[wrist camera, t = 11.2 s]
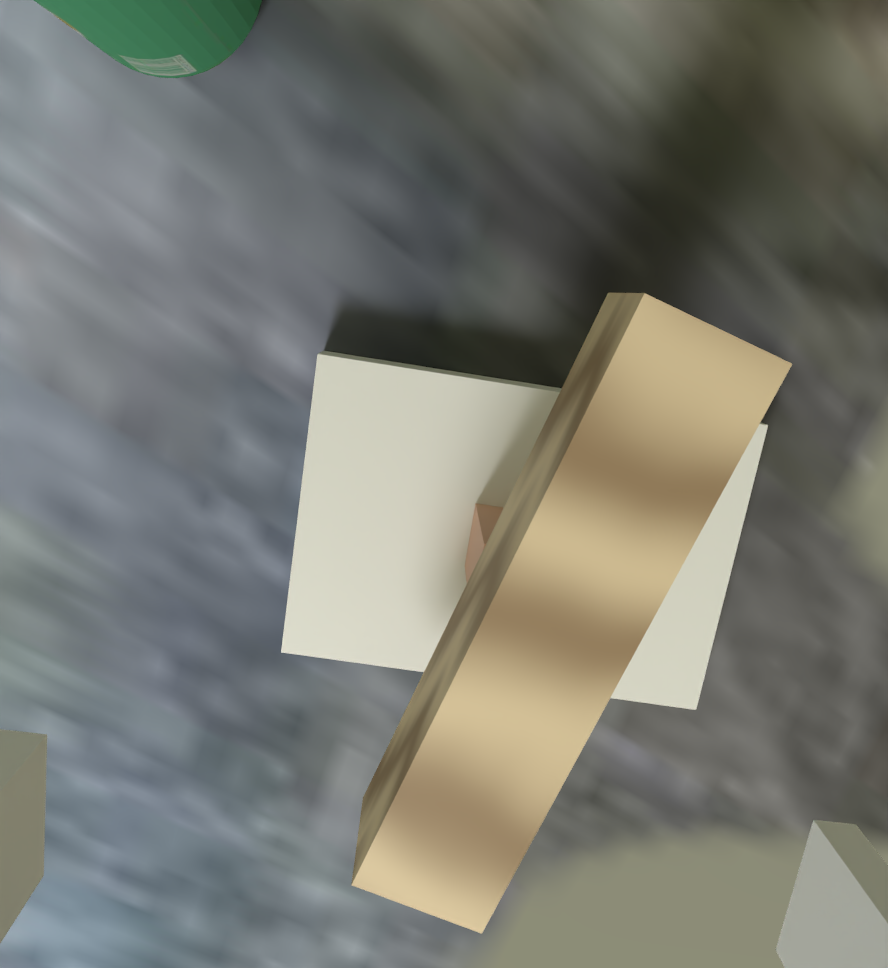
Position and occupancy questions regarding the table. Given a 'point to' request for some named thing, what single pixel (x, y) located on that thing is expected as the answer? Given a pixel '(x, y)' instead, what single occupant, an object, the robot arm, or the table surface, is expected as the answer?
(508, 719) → the oak bar
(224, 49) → the beverage can
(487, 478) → the fulcrum
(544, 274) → the table surface
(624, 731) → the table surface
